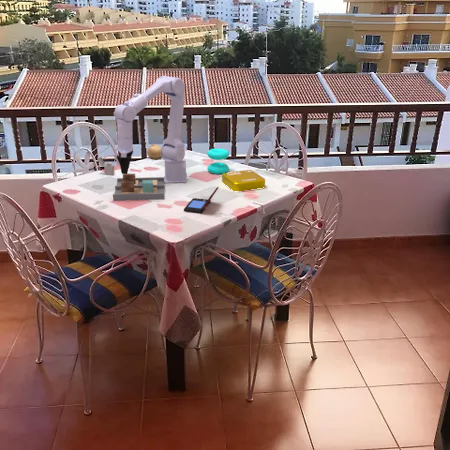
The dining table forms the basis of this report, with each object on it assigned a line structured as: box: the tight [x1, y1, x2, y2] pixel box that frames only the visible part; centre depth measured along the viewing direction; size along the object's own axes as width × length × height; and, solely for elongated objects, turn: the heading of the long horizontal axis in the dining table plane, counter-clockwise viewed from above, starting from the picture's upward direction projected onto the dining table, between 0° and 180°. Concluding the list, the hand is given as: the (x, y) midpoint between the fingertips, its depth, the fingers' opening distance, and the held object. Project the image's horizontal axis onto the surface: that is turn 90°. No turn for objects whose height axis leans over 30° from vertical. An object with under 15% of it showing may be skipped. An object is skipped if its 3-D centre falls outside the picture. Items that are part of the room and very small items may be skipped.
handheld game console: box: [183, 186, 220, 215], centre depth 182 cm, size 12×11×7 cm
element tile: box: [221, 169, 266, 192], centre depth 207 cm, size 15×15×5 cm
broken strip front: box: [122, 173, 138, 185], centre depth 201 cm, size 6×8×5 cm
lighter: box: [97, 156, 116, 176], centre depth 215 cm, size 7×2×8 cm, turn 77°
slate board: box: [112, 176, 165, 202], centre depth 198 cm, size 20×20×2 cm
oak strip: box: [121, 181, 157, 194], centre depth 192 cm, size 14×8×5 cm, turn 97°
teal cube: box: [142, 180, 153, 193], centre depth 193 cm, size 4×4×4 cm
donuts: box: [206, 148, 230, 175], centre depth 222 cm, size 10×10×10 cm
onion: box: [146, 143, 163, 160], centre depth 240 cm, size 8×8×7 cm
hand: (125, 171), depth 190 cm, fingers open, 7 cm apart
